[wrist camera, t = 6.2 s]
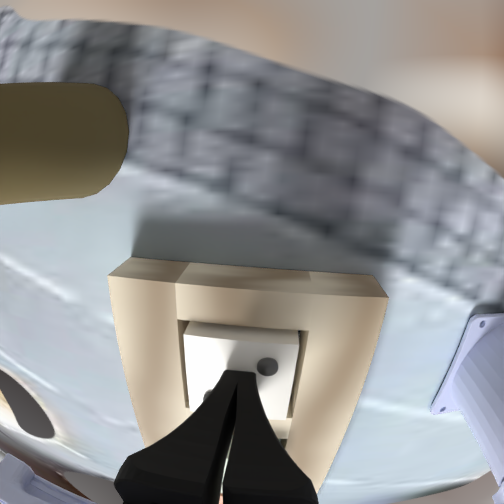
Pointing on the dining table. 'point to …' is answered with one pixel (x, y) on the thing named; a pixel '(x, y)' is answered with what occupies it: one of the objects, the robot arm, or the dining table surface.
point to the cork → (59, 140)
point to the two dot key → (241, 361)
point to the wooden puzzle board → (252, 315)
